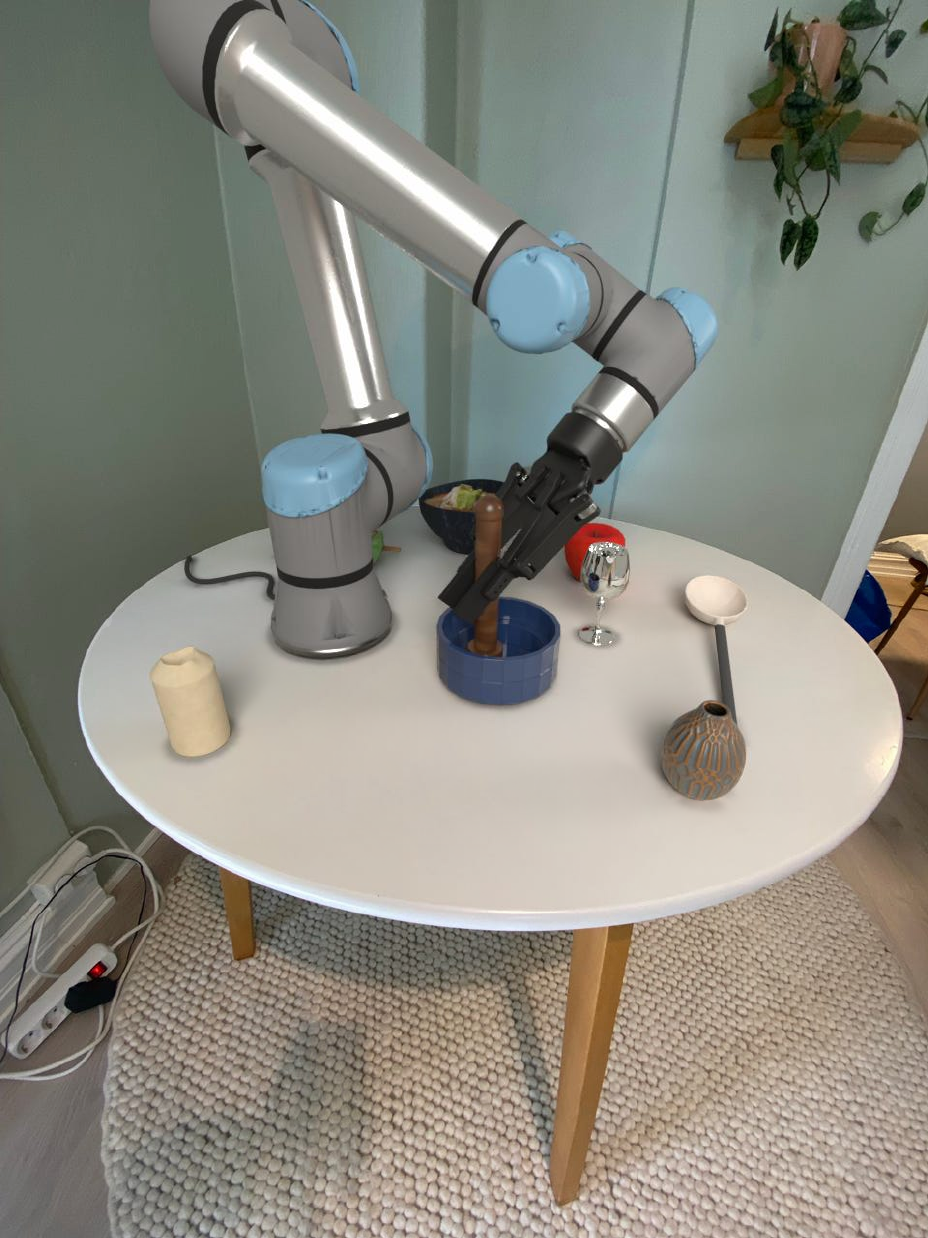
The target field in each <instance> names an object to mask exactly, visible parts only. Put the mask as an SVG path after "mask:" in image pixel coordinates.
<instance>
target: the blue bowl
mask: <svg viewBox="0 0 928 1238" xmlns="http://www.w3.org/2000/svg"><path fill="white" fill-rule="evenodd" d="M452 610H453V609H452V608H450V607H449V606H448V608H446V609H445V610H444V611H443V612H442V613H441V614H440V615H439V616H438V619H437V623H436V626H435V627H436V628H435V630H436V632H435V633H436V669H437V674H438V677H439V679H440V681H441V682H442V683H443V684H444V685H445V687H446V688H447V689H448V690H450V691H451V692H453V693H454V694H456V695H458V696H459V697H461V698H463V699H466V700H470V701H473V702H476V703H479V704H484V705H485V704H486V705H496V706H497V705H498V706H503V705H512V704H513V705H514V704H520V703H524V702H527V701H530V700H533V699H537V698H538V697H540V696H541V695H543V694H544V693H545V692H546V691H548V690H549V689H550V688H551V687H552V685H553V684H554V681H555V680H556V679H557V672H558V661H559V652H560V643H561V635H562V634H561V624H560V622H559V621H558V619H557V617H556V616H555V615H554V614H553V613H552V612H551V611H549V610H548V609H546V608H545V607H543V606H541V605H539V604H536V603H534V602H532V601H529V600H525V599H522V598H518V597H511V596H501V595H500V596H499V603H498V627H497V640H499V641H500V642H501V643H502V645H503V655H502V657H491V656H483V655H479V654H475V653H472V652H468V651H467V645H468V643H469V642H470V641H471V640H472V639H474V623H473V625H472V626H471V625H470V624H468V623H467V622H465V621H464V620H463V619H461V618H460V617H458V616H457V615H456V614H455V613H453V612H452Z"/></svg>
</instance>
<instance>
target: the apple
mask: <svg viewBox="0 0 928 1238" xmlns="http://www.w3.org/2000/svg"><path fill="white" fill-rule="evenodd" d="M598 542H611V543H616V544H619V545H622V546H624V547H625V548H626V538H625V536H624V533H622V531H620V530H619V529H618V528H616V527H614V526H612V525H610V524H606V523H600V522H589V523H587V524H586V525H584V526H583V527H582V528H581V529H580V530H579V531H578V532H577V533H576V534H575V535H574V536H573V537H572V538H571V539H570V540H569V541H568V543H567V544H566V545H565V546H564V547H563V549H564V550H563V551H564V558H565V562H566V565H567V567H568V569H569V571H570V573H571V575H572V577H573V578H574V579H576V580H577V581H579V582H581V581H580V574H581V568H582V564H583V561H584V558H585V555H586V552H587V550H588V548H589V546H590V545H591V544H593V543H598Z"/></svg>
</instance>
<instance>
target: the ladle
mask: <svg viewBox="0 0 928 1238" xmlns="http://www.w3.org/2000/svg"><path fill="white" fill-rule="evenodd" d="M684 600H685V604H686V606H687V609H688V610H689V612H690V614H691V615H692V616H694V617H695V618H696V619H698V620H699V621H701V622H703V623H705V624H709V625H712V626H714V632H715V634H714V635H715V643H716V652H717V653H716V654H717V662H718V673H719V682H720V691H721V692H720V693H721V701H722V702H721V703H723V704H725V705H726V706H727V707H728V708H729V709H730V711H731V716H732V719H733V721H734V722H735V723H736V725H737V727H738V726H739V725H738V720H737V719H738V717H737V711H736V703H735V694H734V687H733V679H732V672H731V663H730V656H729V648H728V639H727V632H726V626H727V625H730V624H731V623H734V622H735V621H737V620H739V619H740V618H741V617H742V616H743V614H744V613H745V612H746V610H747V608H748V606H749V605H748V603H749V599H748V596H747V594H746V592H745V591H744V590H743V589H742V588H741V587H740V586H739V585H737V584H736V583H735V582H733V581H731V580H729V579H727V578H724V577H722V576H717V575H707V574H704V575H699V576H696V577H694V578H692V579H690V580H689V581H688V582H687V584H686V585H685V589H684ZM738 728H739V727H738Z"/></svg>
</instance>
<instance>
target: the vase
mask: <svg viewBox="0 0 928 1238" xmlns="http://www.w3.org/2000/svg"><path fill="white" fill-rule="evenodd" d="M737 726H738V724H737V725H736V723H735V722H734V721H733V719H732V716H731V711H730V709H729V708H728V707H727V706H726V705H725V704H723V703H722V702H721V701H719V700H713V699H708V700H704V701H702V702H701V703H700V704H699V705H698V706H697V707H696V708H694V709H691V710H689V711H687V712H685V713H683V714H681V715H680V716H679V717H678V718H676V719H675V720H674V721H673V722H672V723H671V725H670V726H669V727H668V729H667V730H666V732H665V735H664V736H663V740H662V743H661V750H660V761H661V767H662V772H663V773H664V776H665V778H666V779H667V781H668V782H669V783H670V785H671V786H672V787H673V788H674V789H675V790H676V791H677V792H678V793H680V794H681V795H683V796H685V797H687V798H689V799H692V800H697V801H713V800H716V799H720V798H722V797H724V796H726V795H727V794H728V793H731V791H732V790H733V789H735V787H736V786H737V784H738V783H739V781H740V780H741V778H742V776H743V773H744V771H745V767H746V764H747V763H746V762H747V746H746V742H745V738H744V736H743V734H742V732H741V730H740V728H739V727H737Z"/></svg>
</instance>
